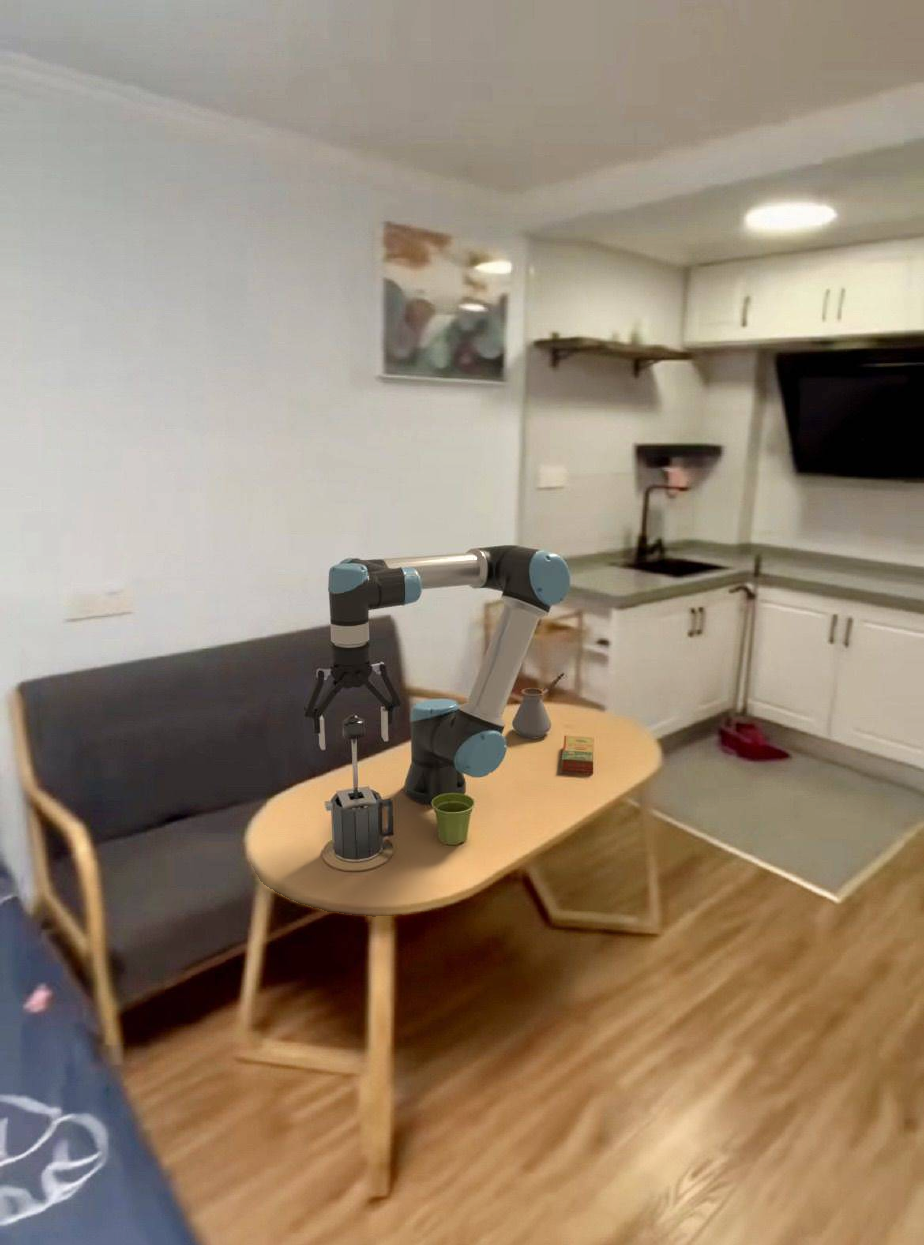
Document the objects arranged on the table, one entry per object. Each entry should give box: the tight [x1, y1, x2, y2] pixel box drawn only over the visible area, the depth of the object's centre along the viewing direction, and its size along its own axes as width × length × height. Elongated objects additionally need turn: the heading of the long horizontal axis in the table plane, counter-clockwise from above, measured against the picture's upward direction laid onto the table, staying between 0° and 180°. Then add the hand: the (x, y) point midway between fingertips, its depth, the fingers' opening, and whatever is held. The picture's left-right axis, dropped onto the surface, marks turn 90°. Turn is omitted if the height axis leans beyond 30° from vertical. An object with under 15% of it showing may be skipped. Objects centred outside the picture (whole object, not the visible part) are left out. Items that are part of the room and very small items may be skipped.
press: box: [321, 785, 395, 873], centre depth 167 cm, size 15×15×13 cm
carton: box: [560, 735, 595, 775], centre depth 213 cm, size 8×16×4 cm, turn 171°
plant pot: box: [430, 793, 475, 846], centre depth 173 cm, size 9×9×9 cm
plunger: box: [340, 714, 371, 809], centre depth 164 cm, size 7×7×21 cm
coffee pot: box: [511, 672, 568, 739], centre depth 233 cm, size 21×12×15 cm, turn 136°
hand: (354, 743), depth 162 cm, fingers open, 12 cm apart
